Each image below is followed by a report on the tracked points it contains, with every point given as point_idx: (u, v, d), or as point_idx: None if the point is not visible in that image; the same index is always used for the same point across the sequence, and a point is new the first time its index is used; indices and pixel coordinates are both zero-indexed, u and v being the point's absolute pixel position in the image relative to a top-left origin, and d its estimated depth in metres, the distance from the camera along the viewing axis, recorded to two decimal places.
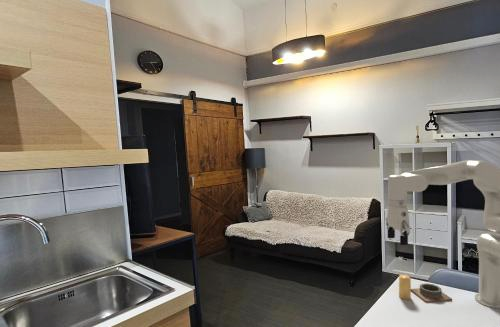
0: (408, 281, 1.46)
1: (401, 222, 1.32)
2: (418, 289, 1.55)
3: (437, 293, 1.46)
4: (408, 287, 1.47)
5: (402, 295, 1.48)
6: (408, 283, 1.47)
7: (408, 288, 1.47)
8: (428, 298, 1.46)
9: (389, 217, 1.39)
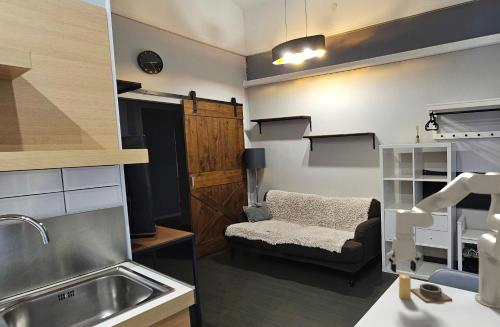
0: (408, 281, 1.46)
1: None
2: (418, 289, 1.55)
3: (437, 293, 1.46)
4: (408, 287, 1.47)
5: (402, 295, 1.48)
6: (408, 283, 1.47)
7: (408, 288, 1.47)
8: (428, 298, 1.46)
9: (402, 251, 1.46)
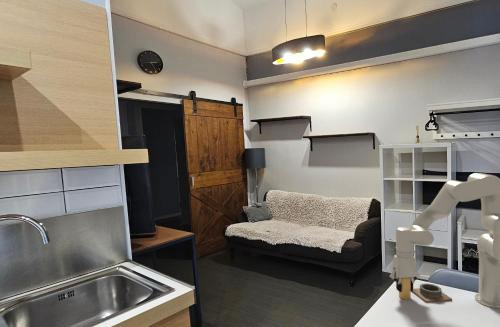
0: (408, 281, 1.46)
1: None
2: (418, 289, 1.55)
3: (437, 293, 1.46)
4: (408, 287, 1.47)
5: (402, 295, 1.48)
6: (408, 283, 1.47)
7: (408, 288, 1.47)
8: (428, 298, 1.46)
9: (403, 269, 1.46)
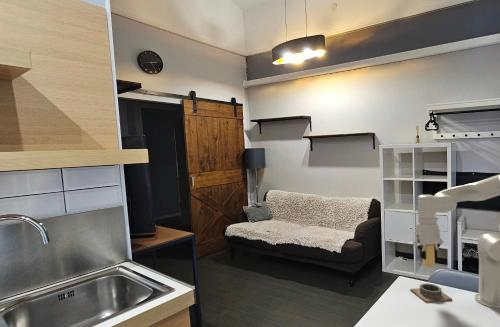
0: (432, 248, 1.46)
1: None
2: (418, 289, 1.55)
3: (437, 293, 1.46)
4: (432, 254, 1.46)
5: (427, 263, 1.47)
6: (432, 250, 1.46)
7: (432, 255, 1.46)
8: (428, 298, 1.46)
9: (426, 236, 1.46)
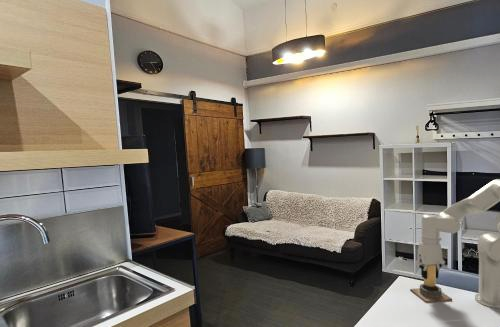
0: (434, 268, 1.47)
1: None
2: (418, 289, 1.55)
3: (437, 293, 1.46)
4: (434, 274, 1.47)
5: (428, 282, 1.48)
6: (434, 270, 1.47)
7: (433, 275, 1.47)
8: (428, 298, 1.46)
9: (428, 256, 1.47)
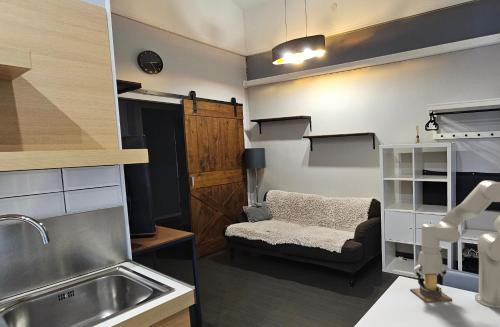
0: (434, 278, 1.47)
1: None
2: (418, 289, 1.55)
3: (437, 293, 1.46)
4: (434, 283, 1.48)
5: None
6: (434, 279, 1.47)
7: (434, 284, 1.48)
8: (428, 298, 1.46)
9: (429, 265, 1.47)
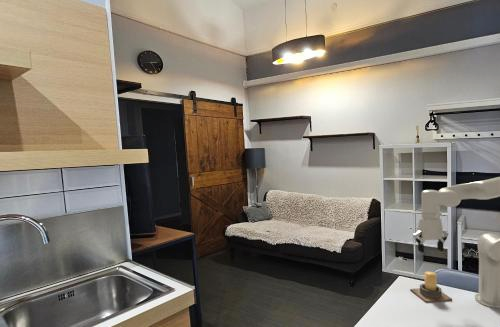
0: (434, 278, 1.47)
1: None
2: (418, 289, 1.55)
3: (437, 293, 1.46)
4: (434, 283, 1.48)
5: None
6: (434, 279, 1.47)
7: (434, 284, 1.48)
8: (428, 298, 1.46)
9: (429, 231, 1.46)
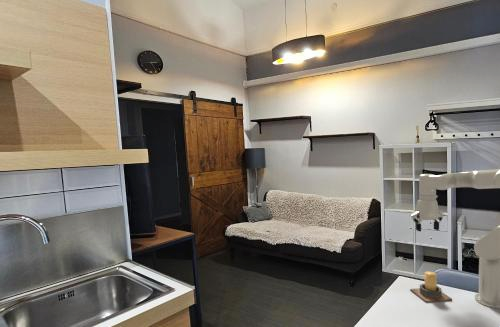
0: (434, 278, 1.47)
1: None
2: (418, 289, 1.55)
3: (437, 293, 1.46)
4: (434, 283, 1.48)
5: None
6: (434, 279, 1.47)
7: (434, 284, 1.48)
8: (428, 298, 1.46)
9: (426, 211, 1.59)
